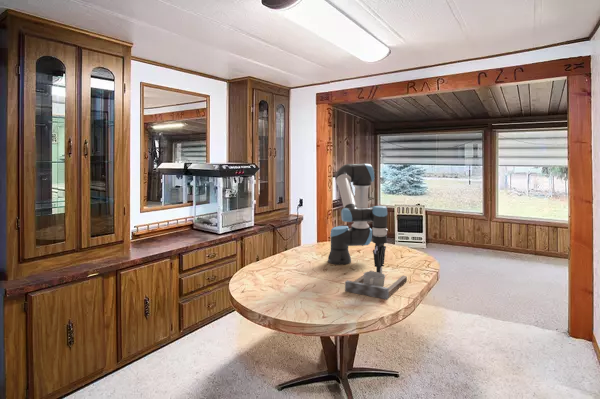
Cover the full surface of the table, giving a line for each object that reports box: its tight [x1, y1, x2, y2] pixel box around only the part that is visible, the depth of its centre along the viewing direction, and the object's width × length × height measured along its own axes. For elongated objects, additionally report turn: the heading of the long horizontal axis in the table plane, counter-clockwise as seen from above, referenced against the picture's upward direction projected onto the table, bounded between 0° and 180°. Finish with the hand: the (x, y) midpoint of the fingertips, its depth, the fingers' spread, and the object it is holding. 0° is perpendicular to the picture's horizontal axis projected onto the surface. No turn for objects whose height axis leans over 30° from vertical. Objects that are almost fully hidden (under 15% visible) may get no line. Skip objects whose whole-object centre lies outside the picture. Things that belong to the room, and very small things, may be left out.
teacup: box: [363, 271, 386, 287], centre depth 189 cm, size 14×11×8 cm
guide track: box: [344, 270, 408, 300], centre depth 195 cm, size 22×32×5 cm
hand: (379, 278), depth 197 cm, fingers closed
